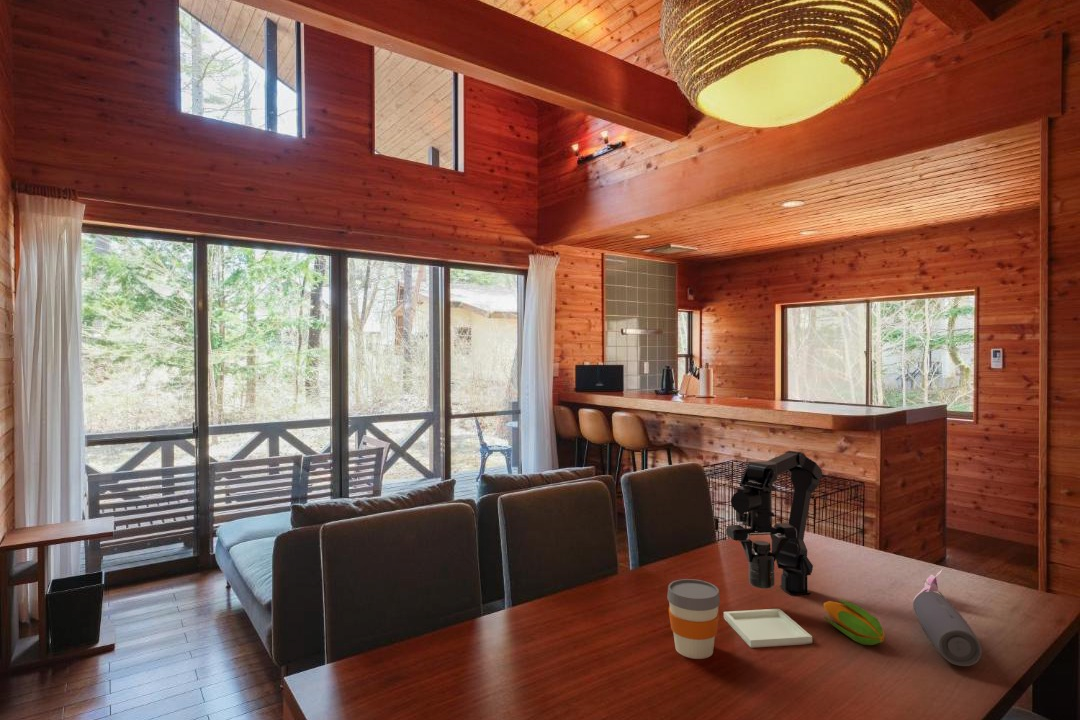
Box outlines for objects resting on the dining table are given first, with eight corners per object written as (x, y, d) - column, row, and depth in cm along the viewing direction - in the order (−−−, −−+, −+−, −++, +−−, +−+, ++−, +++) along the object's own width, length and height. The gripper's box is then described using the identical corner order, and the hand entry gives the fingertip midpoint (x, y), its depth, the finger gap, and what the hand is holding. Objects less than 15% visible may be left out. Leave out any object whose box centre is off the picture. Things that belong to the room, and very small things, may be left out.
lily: (935, 594, 174) (916, 564, 176) (973, 593, 163) (952, 561, 166) (913, 615, 168) (894, 584, 171) (951, 615, 158) (930, 582, 160)
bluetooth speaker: (985, 675, 128) (985, 631, 128) (936, 668, 131) (936, 624, 131) (952, 629, 150) (952, 591, 149) (910, 624, 153) (910, 587, 153)
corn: (867, 622, 138) (812, 589, 158) (866, 653, 138) (810, 617, 158) (894, 620, 140) (835, 588, 159) (892, 652, 140) (834, 616, 159)
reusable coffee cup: (692, 668, 133) (691, 603, 133) (657, 644, 144) (656, 584, 144) (732, 654, 139) (731, 592, 139) (695, 632, 150) (694, 575, 150)
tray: (779, 615, 159) (779, 608, 159) (812, 643, 143) (812, 636, 143) (723, 618, 158) (723, 611, 158) (750, 647, 142) (750, 640, 142)
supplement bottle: (778, 589, 161) (777, 546, 161) (753, 589, 161) (753, 546, 161) (769, 579, 168) (768, 538, 168) (745, 579, 168) (745, 539, 168)
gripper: (777, 499, 173) (778, 550, 174) (718, 501, 172) (718, 553, 172) (797, 508, 162) (798, 563, 162) (734, 511, 161) (734, 567, 161)
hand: (761, 561), depth 165 cm, fingers closed on supplement bottle, 7 cm apart
